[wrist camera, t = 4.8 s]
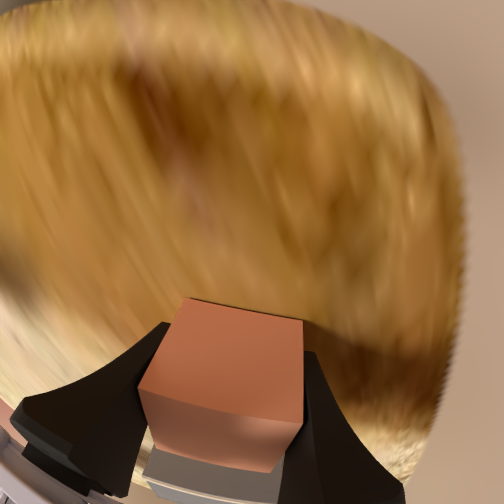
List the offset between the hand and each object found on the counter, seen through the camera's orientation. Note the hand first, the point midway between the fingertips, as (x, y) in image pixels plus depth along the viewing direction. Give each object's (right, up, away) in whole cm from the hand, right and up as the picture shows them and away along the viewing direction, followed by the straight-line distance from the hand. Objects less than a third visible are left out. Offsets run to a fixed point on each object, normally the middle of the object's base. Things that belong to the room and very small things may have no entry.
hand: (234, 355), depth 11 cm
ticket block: (-2, -12, +8) cm, 15 cm away
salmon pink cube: (0, 0, +2) cm, 2 cm away
